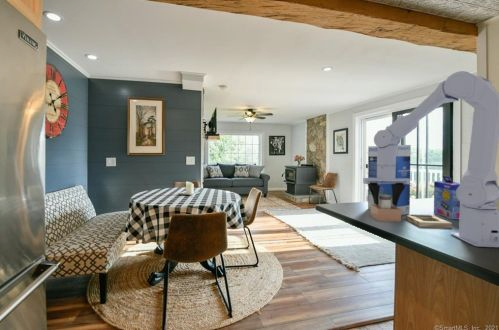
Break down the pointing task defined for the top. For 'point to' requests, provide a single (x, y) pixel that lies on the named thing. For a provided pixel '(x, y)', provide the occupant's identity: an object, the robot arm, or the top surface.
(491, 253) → the top surface
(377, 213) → the brown open square box
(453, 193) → the ink cartridge box
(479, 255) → the top surface
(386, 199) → the cell
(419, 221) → the tan square frame
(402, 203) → the string lights box
